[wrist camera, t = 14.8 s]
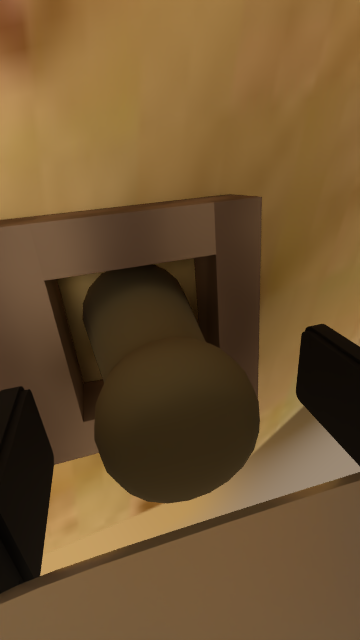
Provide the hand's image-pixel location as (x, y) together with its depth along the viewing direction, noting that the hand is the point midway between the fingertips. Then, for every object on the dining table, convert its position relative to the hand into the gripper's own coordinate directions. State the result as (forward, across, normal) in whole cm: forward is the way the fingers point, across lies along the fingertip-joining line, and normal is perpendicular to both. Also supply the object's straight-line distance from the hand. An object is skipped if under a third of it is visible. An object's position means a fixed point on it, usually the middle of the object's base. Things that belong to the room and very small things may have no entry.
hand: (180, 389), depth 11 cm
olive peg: (+9, 0, +1) cm, 9 cm away
